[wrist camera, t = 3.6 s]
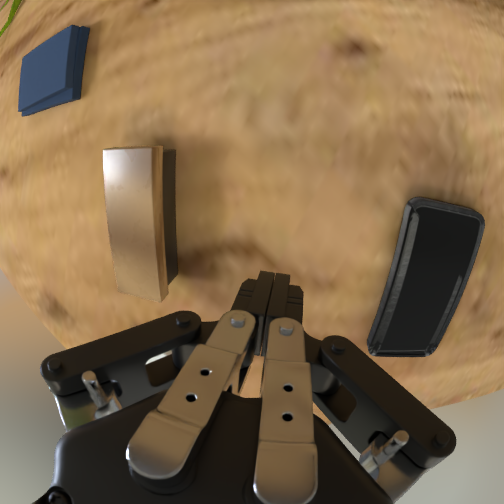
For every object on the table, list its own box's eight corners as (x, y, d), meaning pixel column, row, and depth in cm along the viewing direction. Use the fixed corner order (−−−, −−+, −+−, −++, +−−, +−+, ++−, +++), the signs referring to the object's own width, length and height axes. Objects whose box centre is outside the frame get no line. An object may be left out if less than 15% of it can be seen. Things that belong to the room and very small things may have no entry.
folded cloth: (35, 54, 17) (21, 53, 15) (90, 27, 15) (75, 22, 13) (28, 115, 20) (14, 117, 18) (80, 99, 19) (63, 99, 17)
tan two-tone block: (132, 144, 20) (102, 149, 16) (178, 143, 19) (152, 147, 16) (140, 270, 25) (118, 292, 21) (180, 279, 24) (161, 303, 21)
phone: (365, 355, 23) (412, 197, 16) (363, 347, 24) (407, 194, 17) (432, 356, 22) (488, 215, 15) (429, 349, 23) (481, 211, 16)
